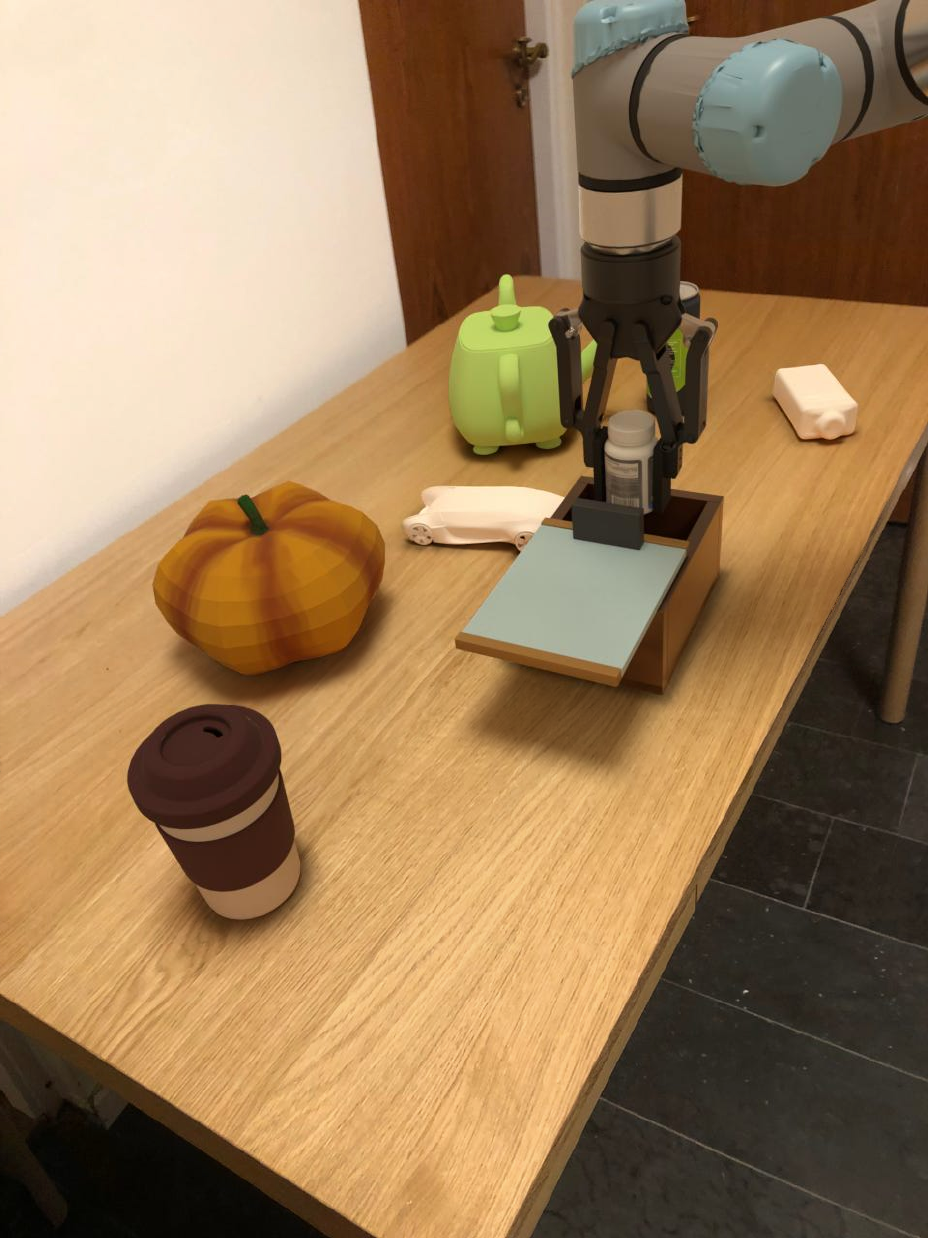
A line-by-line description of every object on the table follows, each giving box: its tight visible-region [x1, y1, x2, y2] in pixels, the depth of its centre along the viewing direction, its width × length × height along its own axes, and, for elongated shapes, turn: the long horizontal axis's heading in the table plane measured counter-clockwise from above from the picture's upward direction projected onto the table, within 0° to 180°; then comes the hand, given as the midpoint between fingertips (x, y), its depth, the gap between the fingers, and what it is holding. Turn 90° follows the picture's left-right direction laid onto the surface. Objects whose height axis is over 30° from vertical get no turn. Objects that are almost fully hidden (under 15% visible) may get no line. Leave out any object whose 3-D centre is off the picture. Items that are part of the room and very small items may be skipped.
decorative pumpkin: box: [151, 480, 386, 676], centre depth 90 cm, size 20×22×15 cm
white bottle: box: [772, 363, 859, 440], centre depth 113 cm, size 6×13×4 cm, turn 1°
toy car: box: [401, 485, 566, 552], centre depth 103 cm, size 18×8×4 cm, turn 72°
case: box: [550, 475, 725, 696], centre depth 87 cm, size 14×18×9 cm
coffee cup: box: [126, 703, 301, 920], centre depth 67 cm, size 10×10×15 cm
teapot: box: [447, 274, 597, 456], centre depth 118 cm, size 25×22×16 cm
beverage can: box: [645, 280, 702, 415], centre depth 117 cm, size 6×6×15 cm
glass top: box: [454, 498, 689, 688], centre depth 77 cm, size 13×18×4 cm
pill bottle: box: [604, 409, 659, 514], centre depth 84 cm, size 5×5×8 cm
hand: (632, 501), depth 87 cm, fingers closed on pill bottle, 5 cm apart
